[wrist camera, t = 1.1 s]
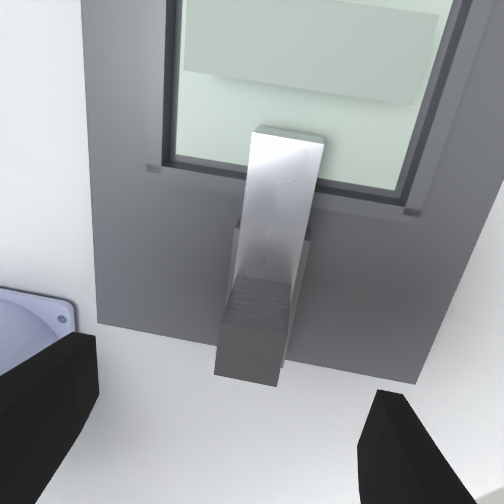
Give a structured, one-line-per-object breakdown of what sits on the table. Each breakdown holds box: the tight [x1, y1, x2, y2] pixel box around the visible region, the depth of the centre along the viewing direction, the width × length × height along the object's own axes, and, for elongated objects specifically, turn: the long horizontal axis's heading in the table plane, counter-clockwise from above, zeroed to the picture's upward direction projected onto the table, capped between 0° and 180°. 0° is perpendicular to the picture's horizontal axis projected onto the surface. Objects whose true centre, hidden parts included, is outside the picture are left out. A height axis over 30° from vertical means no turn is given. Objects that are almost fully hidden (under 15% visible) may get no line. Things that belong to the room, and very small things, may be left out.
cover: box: [176, 0, 453, 190], centre depth 12 cm, size 8×8×4 cm
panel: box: [81, 0, 504, 385], centre depth 15 cm, size 20×16×3 cm
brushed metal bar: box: [214, 126, 324, 387], centre depth 13 cm, size 9×2×4 cm, turn 172°
